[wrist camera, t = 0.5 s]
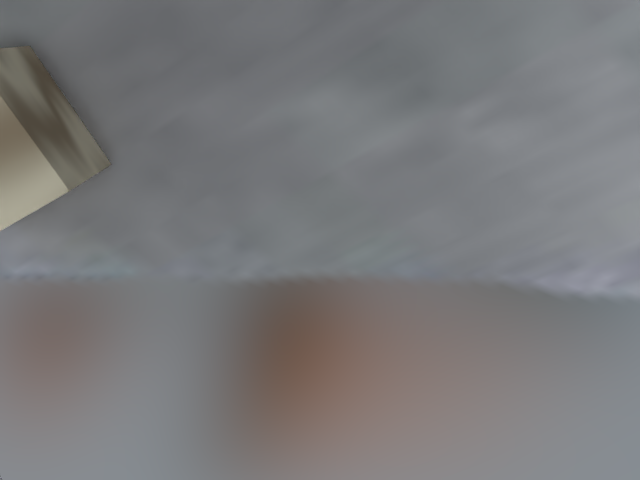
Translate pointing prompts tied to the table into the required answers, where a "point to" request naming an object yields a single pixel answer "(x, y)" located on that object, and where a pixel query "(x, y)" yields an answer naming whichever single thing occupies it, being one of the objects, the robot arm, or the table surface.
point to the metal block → (38, 138)
